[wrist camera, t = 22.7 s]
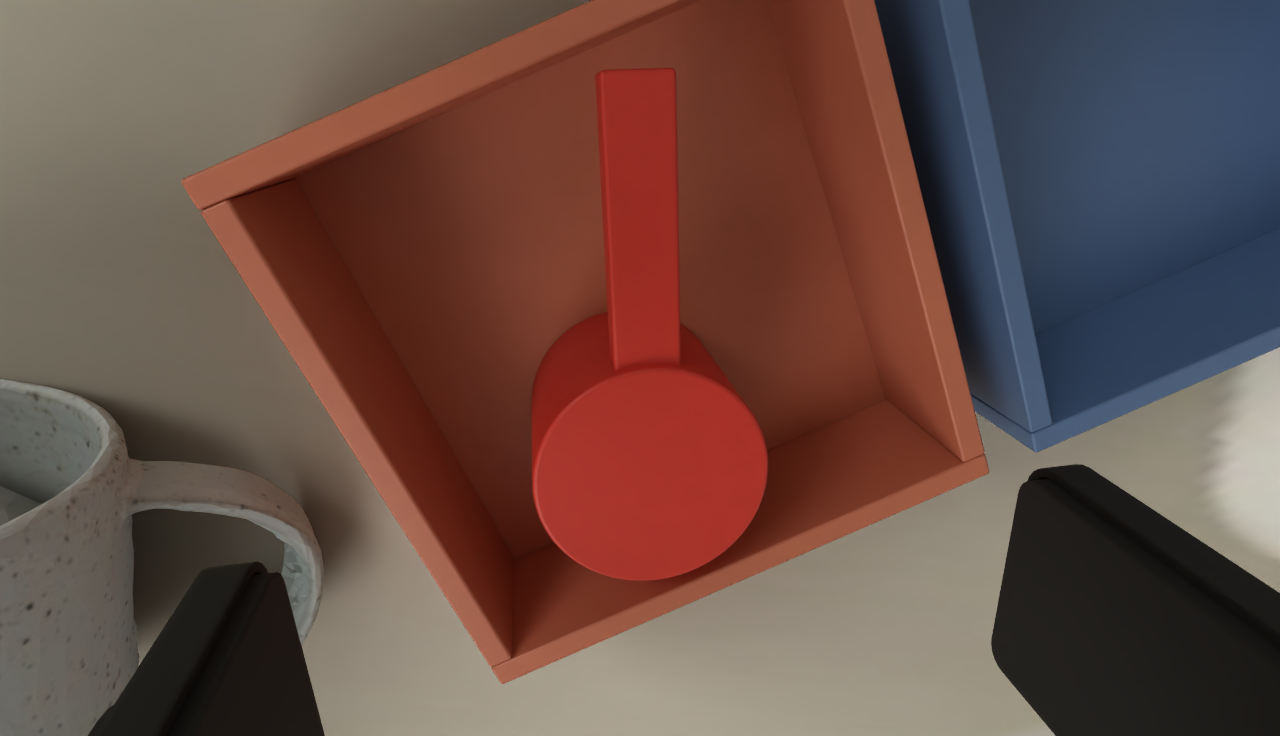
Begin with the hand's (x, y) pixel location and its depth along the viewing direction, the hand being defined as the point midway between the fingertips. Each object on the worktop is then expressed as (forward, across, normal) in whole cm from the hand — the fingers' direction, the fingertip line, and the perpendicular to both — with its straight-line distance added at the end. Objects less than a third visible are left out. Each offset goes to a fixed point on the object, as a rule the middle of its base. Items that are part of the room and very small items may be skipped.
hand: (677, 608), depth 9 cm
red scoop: (+8, 0, -2) cm, 8 cm away
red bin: (+9, 0, -2) cm, 9 cm away
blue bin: (+9, -12, -6) cm, 16 cm away
